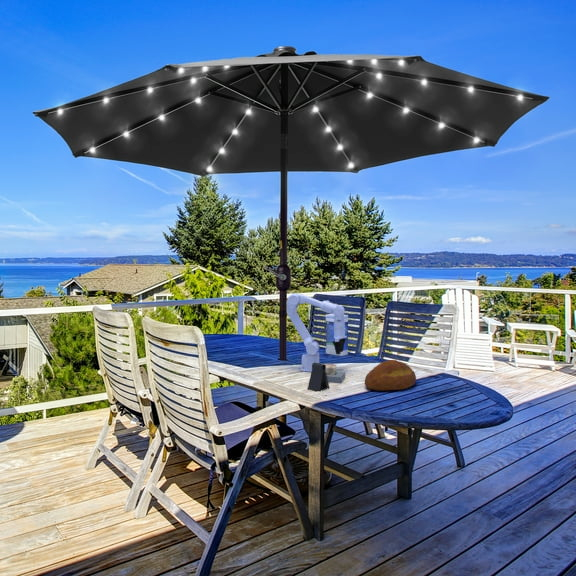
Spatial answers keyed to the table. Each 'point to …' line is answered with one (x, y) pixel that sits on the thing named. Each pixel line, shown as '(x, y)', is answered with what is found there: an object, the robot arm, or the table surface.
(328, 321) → the string lights box
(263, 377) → the table surface
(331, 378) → the socket block
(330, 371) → the square peg
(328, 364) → the round peg
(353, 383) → the table surface
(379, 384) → the bread
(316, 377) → the phone stand
